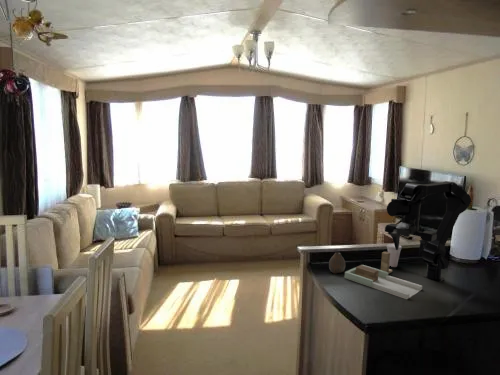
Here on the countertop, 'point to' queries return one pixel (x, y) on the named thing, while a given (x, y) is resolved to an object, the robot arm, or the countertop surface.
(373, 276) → the block
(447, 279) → the countertop surface
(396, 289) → the slot tray
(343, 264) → the vase
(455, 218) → the robot arm
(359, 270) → the block
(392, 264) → the smoothie
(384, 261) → the scraper
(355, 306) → the countertop surface
